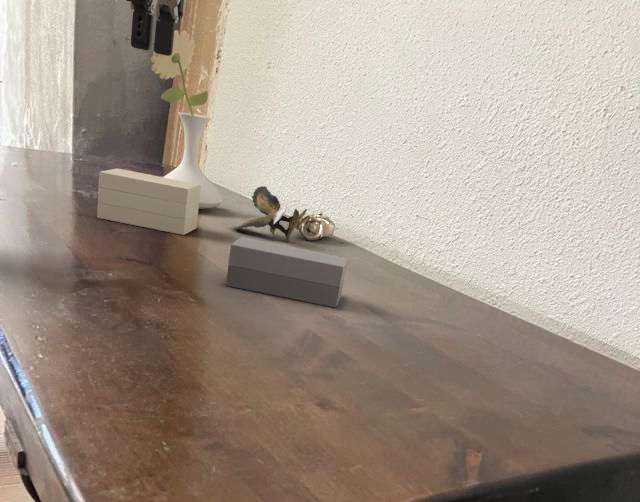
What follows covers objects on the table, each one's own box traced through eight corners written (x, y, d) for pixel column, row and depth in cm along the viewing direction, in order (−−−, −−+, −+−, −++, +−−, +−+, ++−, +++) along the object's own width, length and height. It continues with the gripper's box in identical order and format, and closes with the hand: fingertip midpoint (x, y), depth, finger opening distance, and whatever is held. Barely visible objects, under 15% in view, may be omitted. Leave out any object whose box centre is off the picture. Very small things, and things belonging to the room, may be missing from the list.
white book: (98, 187, 98) (99, 171, 97) (116, 183, 104) (116, 168, 103) (186, 204, 98) (188, 188, 97) (199, 199, 103) (201, 184, 102)
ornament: (299, 229, 118) (303, 206, 117) (339, 239, 117) (344, 215, 115) (280, 234, 111) (284, 210, 110) (323, 245, 110) (327, 220, 108)
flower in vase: (201, 201, 128) (217, 39, 117) (234, 215, 120) (254, 43, 109) (128, 195, 120) (139, 22, 110) (158, 211, 112) (173, 25, 102)
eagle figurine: (305, 230, 112) (253, 206, 113) (309, 193, 106) (254, 168, 107) (280, 262, 108) (227, 236, 110) (282, 225, 102) (226, 199, 103)
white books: (96, 217, 100) (98, 187, 98) (114, 212, 105) (116, 183, 104) (183, 235, 99) (186, 204, 98) (196, 228, 105) (199, 199, 103)
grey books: (225, 285, 79) (230, 244, 77) (236, 276, 84) (241, 236, 82) (336, 307, 79) (343, 266, 77) (340, 297, 83) (347, 258, 81)
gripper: (153, -96, 90) (141, 51, 97) (110, -133, 77) (99, 40, 84) (213, -84, 90) (197, 62, 97) (180, -119, 77) (164, 53, 83)
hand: (152, 52), depth 90 cm, fingers open, 8 cm apart
